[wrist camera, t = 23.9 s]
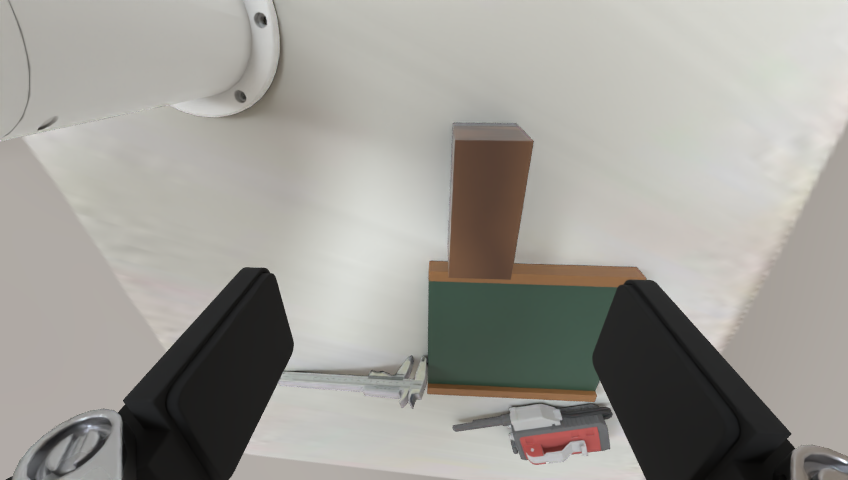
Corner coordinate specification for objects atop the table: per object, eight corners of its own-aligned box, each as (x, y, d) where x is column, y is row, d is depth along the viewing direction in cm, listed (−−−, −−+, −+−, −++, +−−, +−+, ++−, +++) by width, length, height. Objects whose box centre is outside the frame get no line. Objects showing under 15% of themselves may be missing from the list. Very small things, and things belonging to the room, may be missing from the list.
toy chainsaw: (605, 389, 41) (450, 413, 45) (622, 424, 37) (450, 447, 41) (610, 429, 45) (467, 448, 49) (625, 464, 41) (469, 481, 46)
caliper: (426, 353, 40) (423, 401, 34) (428, 359, 40) (425, 408, 35) (272, 372, 43) (247, 419, 37) (276, 377, 43) (252, 425, 38)
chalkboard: (428, 381, 42) (427, 394, 41) (429, 260, 33) (428, 271, 31) (588, 388, 41) (594, 402, 40) (637, 266, 32) (647, 278, 30)
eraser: (447, 242, 32) (448, 278, 27) (452, 122, 26) (455, 139, 21) (500, 244, 31) (510, 280, 27) (517, 123, 26) (533, 140, 21)
